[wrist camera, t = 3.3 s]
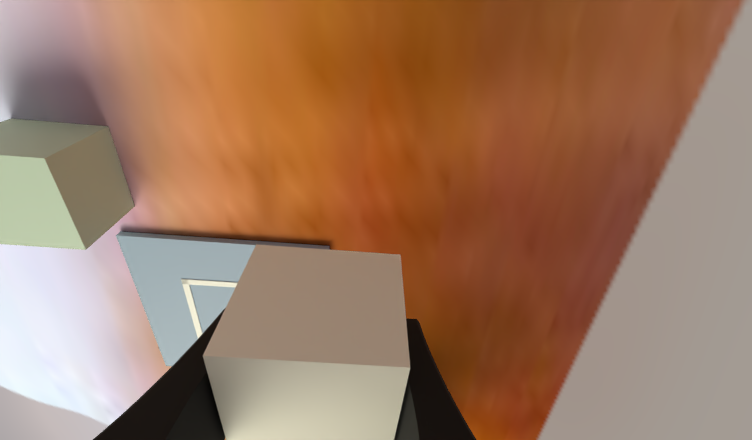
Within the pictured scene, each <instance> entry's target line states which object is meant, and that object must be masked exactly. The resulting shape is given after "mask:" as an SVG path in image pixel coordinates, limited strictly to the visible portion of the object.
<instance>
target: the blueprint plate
mask: <svg viewBox="0 0 752 440" xmlns="http://www.w3.org/2000/svg"><path fill="white" fill-rule="evenodd" d="M116 236H117V239H118V242H119V244H120V247H121V250H122V252H123V255H124V257H125V260H126V263H127V265H128V268H129V270H130V273H131V276H132V278H133V281H134V283H135V286H136V289H137V291H138V294H139V296H140V299H141V302H142V304H143V307H144V309H145V312H146V315H147V317H148V320H149V323H150V325H151V328H152V330H153V333H154V336H155V338H156V341H157V343H158V346H159V349H160V351H161V354H162V356H163V359H164V362H165V364H166V366H173V365H174V364H175V363H176V362H177V361H178V360H179V359H180V357H181V356H182V355H183V354H184V353H185V352H186V351H187V350H188V349H189V348H190V347H191V346H192V345H193V344H194V343H195V341H196V340H197V339H198V338H199V337H200V336H201V335H202V334H203V333H204V331H205V330H206V329H207V328H208V327H209V326H210V325H211V323H212V322H213V321H214V320H215V319H216V318H217V317H218V315H219V314H220V313H221V312H222V311H223V310H224V309H225V308H226V306H227V304H228V302H229V300H230V298H231V296H232V294H233V292H234V290H235V288H236V285H237V283H238V281H239V279H240V277H241V275H242V273H243V271H244V269H245V267H246V265H247V263H248V260H249V258H250V256H251V254H252V252H253V250H254V248H255V246H256V244H257V245H271V246H285V247H299V248H314V249H328V250H329V246H323V245H308V244H294V243H280V242H265V241H251V240H236V239H222V238H207V237H193V236H179V235H164V234H150V233H135V232H121V231H120V232H119V233H118V234H117V235H116Z"/></svg>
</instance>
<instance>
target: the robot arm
mask: <svg viewBox="0 0 752 440" xmlns="http://www.w3.org/2000/svg"><path fill="white" fill-rule="evenodd" d="M224 310H225V309H224ZM224 310H223V311H222V312H221V313H220V314H219V315H218V317H217V318H216V319H215V320H214V321H213V322H212V323H211V325H210V326H209V327H208V328H207V329H206V330H205V331H204V333H203V334H202V335H201V336H200V337H199V338H198V339H197V340H196V341H195V343H194V344H193V345H192V346H191V347H190V348H189V349H188V350H187V351H186V352H185V353H184V354H183V355H182V356H181V357H180V359H179V360H178V361H177V362H176V363H175V364H174V365H173V366H172V367H171V368H170V369H169V370H168V371H167V372H166V373H165V374H164V375H163V376H162V377H161V378H160V379H159V380H158V381H157V382H156V383H155V384H154V385H153V386H152V387H151V388H150V389H149V390H148V391H147V392H146V393H145V394H144V395H143V396H141V397H140V398H139V399H138V400H137V401H136V402H135V403H134V404H133V405H132V406H131V407H130V408H129V409H127V410H126V411H125V412H124V413H123V414H122V415H121V416H120V417H119V418H117V419H116V420H115V421H114V422H113V423H112V424H111V425H109V426H108V427H107V428H106V429H105V430H104V431H103V432H101V433H100V434H99V435H98V436H97V437H95V438H94V439H93V440H224V439H225V434H224V430H223V427H222V423H221V420H220V416H219V412H218V409H217V405H216V402H215V398H214V395H213V391H212V387H211V384H210V380H209V377H208V373H207V370H206V366H205V362H204V359H203V354H204V352H205V350H206V348H207V346H208V344H209V342H210V340H211V337H212V335H213V333H214V331H215V329H216V327H217V325H218V323H219V321H220V319H221V317H222V315H223V312H224ZM406 324H407V335H408V347H409V358H410V371H409V376H408V380H407V385H406V389H405V393H404V398H403V402H402V407H401V411H400V416H399V420H398V424H397V429H396V433H395V438H394V440H476V438H475V437H474V435H473V434H472V432H471V430H470V429H469V427H468V425H467V423H466V422H465V420H464V418H463V416H462V415H461V413H460V411H459V409H458V407H457V406H456V404H455V402H454V400H453V398H452V396H451V394H450V393H449V391H448V389H447V387H446V385H445V382H444V380H443V378H442V376H441V374H440V372H439V370H438V368H437V366H436V364H435V362H434V359H433V357H432V355H431V352H430V350H429V348H428V345H427V343H426V340H425V338H424V335H423V332H422V329H421V326H420V323H419V321H418V320H417V319H406Z"/></svg>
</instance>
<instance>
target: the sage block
mask: <svg viewBox="0 0 752 440" xmlns="http://www.w3.org/2000/svg"><path fill="white" fill-rule="evenodd" d="M133 207H135V206H134V203H133V200H132V197H131V194H130V191H129V188H128V185H127V182H126V179H125V176H124V173H123V170H122V167H121V164H120V160H119V157H118V154H117V151H116V148H115V145H114V142H113V139H112V136H111V133H110V130H109V127H108V126H97V125H85V124H72V123H60V122H48V121H36V120H23V119H8V120H6V121H3V122H0V244H9V245H24V246H38V247H53V248H68V249H82V250H86V249H87V248H88V247H89V246H91V245H92V244H93V243H94V242H95V241H96V240H97V239H98V238H100V237H101V236H102V235H103V234H104V233H105V232H106V231H107V230H109V229H110V228H111V227H112V226H113V225H114V224H115V223H117V222H118V221H119V220H120V219H121V218H122V217H123V216H124V215H126V214H127V213H128V212H129V211H130V210H131V209H132V208H133Z"/></svg>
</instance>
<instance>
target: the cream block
mask: <svg viewBox="0 0 752 440" xmlns="http://www.w3.org/2000/svg"><path fill="white" fill-rule="evenodd" d="M203 359H204V362H205V366H206V370H207V373H208V377H209V380H210V384H211V387H212V391H213V395H214V398H215V402H216V405H217V409H218V412H219V416H220V420H221V423H222V427H223V430H224V434H225V437H226V440H394V438H395V433H396V429H397V424H398V420H399V416H400V411H401V407H402V402H403V398H404V393H405V389H406V385H407V380H408V376H409V371H410V358H409V347H408V335H407V324H406V312H405V301H404V289H403V278H402V266H401V255H398V254H384V253H370V252H356V251H342V250H328V249H314V248H299V247H285V246H271V245H257V244H256V246H255V248H254V250H253V252H252V254H251V256H250V258H249V260H248V263H247V265H246V267H245V269H244V271H243V273H242V275H241V277H240V279H239V281H238V283H237V285H236V288H235V290H234V292H233V294H232V296H231V298H230V300H229V302H228V304H227V306H226V308H225V310H224V312H223V315H222V317H221V319H220V321H219V323H218V325H217V327H216V329H215V331H214V333H213V335H212V337H211V340H210V342H209V344H208V346H207V348H206V350H205V352H204V354H203Z"/></svg>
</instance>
